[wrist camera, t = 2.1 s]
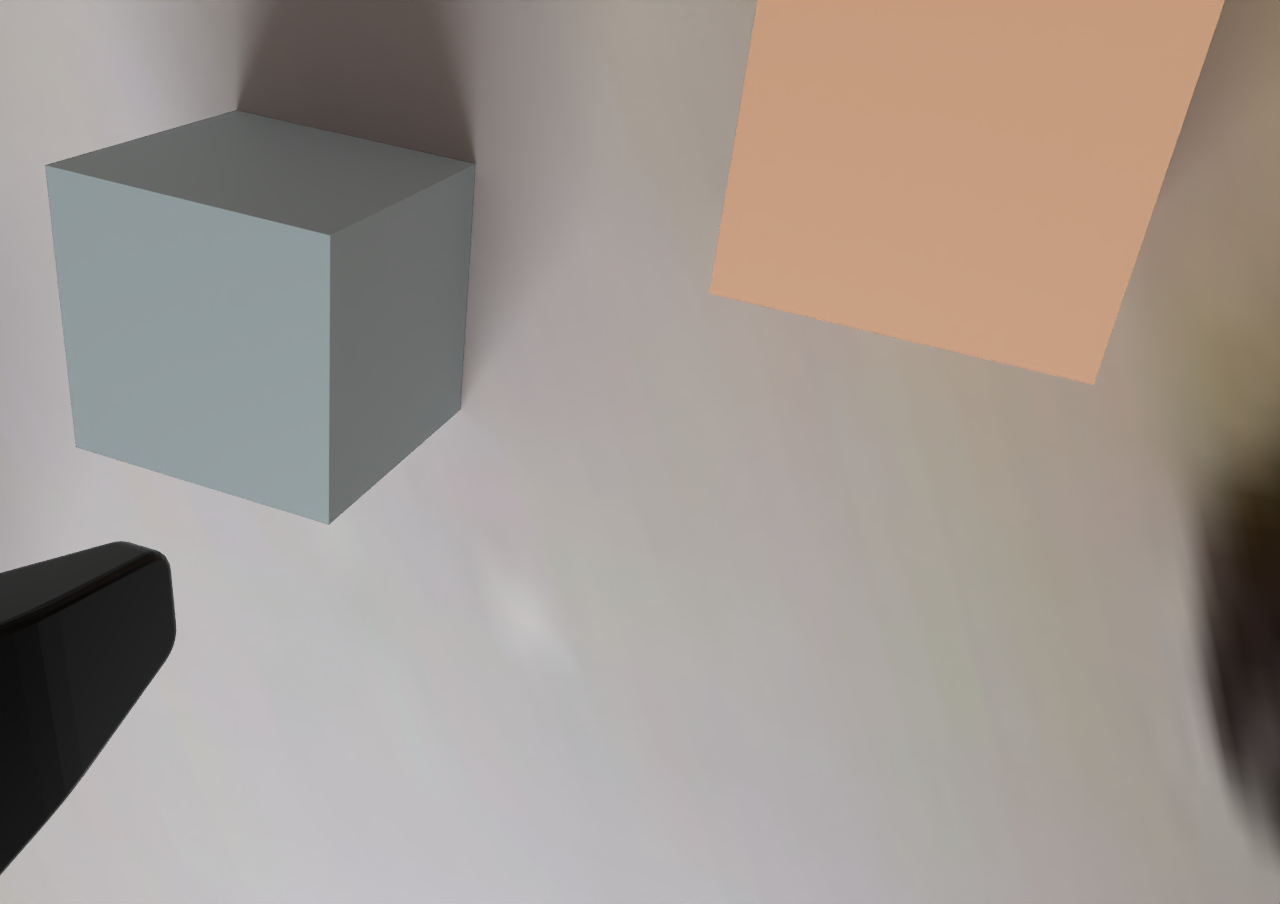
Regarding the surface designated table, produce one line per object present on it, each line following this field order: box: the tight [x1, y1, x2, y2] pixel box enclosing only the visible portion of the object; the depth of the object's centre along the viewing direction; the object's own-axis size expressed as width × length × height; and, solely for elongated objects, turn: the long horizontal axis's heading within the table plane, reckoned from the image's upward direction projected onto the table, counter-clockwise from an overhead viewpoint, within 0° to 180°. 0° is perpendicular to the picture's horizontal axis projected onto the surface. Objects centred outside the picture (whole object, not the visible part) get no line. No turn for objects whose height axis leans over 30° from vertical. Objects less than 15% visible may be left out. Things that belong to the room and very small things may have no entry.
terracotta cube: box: [709, 0, 1225, 385], centre depth 16 cm, size 5×5×5 cm
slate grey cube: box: [45, 110, 476, 525], centre depth 21 cm, size 5×5×5 cm
